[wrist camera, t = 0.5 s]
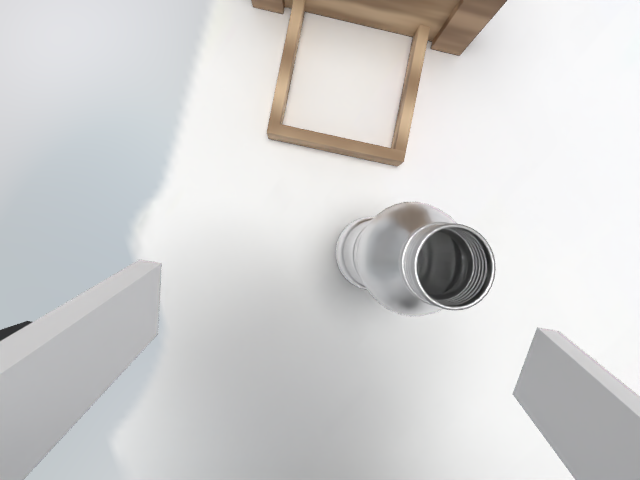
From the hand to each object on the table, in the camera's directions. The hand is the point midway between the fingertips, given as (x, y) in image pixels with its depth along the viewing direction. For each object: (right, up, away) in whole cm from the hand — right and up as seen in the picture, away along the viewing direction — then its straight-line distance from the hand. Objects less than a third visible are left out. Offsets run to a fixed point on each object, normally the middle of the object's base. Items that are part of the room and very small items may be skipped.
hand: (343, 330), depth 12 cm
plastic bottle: (+4, +2, +23) cm, 23 cm away
